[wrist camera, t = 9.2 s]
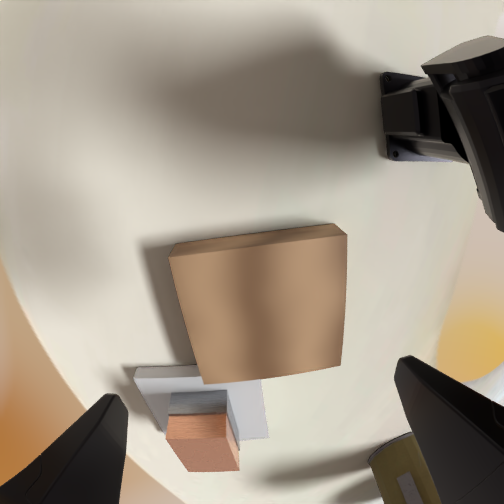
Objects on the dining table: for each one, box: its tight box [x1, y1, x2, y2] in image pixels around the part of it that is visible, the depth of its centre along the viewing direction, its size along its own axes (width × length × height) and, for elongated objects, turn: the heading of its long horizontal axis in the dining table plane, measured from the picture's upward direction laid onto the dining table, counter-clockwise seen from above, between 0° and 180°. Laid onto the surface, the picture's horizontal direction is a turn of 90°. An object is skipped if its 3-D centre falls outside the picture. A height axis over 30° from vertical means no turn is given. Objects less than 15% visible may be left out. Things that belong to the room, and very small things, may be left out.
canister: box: [368, 432, 441, 504], centre depth 25 cm, size 11×10×20 cm
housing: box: [166, 390, 240, 472], centre depth 22 cm, size 7×5×5 cm
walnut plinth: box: [168, 224, 347, 385], centre depth 20 cm, size 11×11×2 cm
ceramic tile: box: [133, 365, 269, 441], centre depth 25 cm, size 11×11×2 cm
